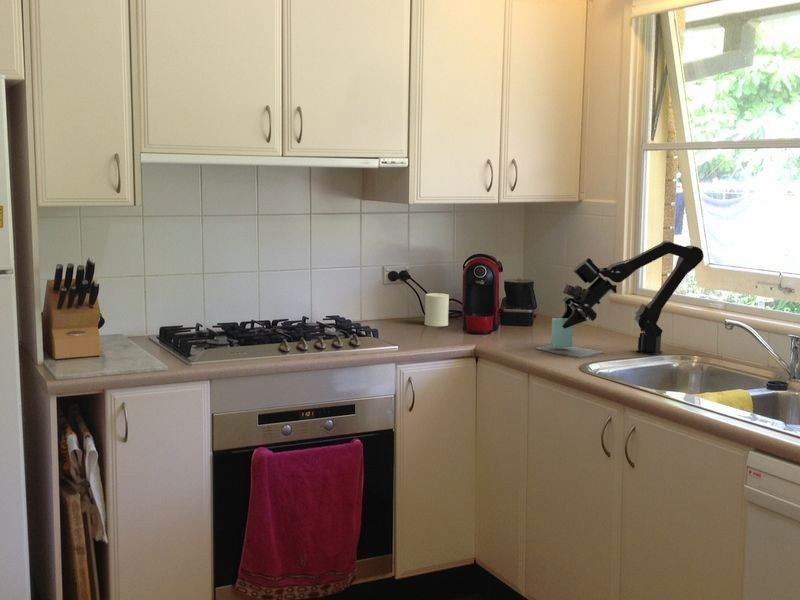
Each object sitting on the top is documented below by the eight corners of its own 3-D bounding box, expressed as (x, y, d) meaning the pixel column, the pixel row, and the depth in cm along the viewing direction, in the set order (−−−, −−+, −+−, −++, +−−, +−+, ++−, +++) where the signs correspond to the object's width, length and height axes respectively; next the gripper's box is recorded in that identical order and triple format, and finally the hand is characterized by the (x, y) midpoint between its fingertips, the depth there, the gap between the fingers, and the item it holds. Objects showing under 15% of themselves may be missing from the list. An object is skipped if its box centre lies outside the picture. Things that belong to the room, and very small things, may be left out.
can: (451, 323, 352) (452, 292, 350) (444, 327, 343) (445, 295, 341) (428, 321, 355) (429, 291, 353) (421, 325, 346) (422, 294, 344)
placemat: (603, 353, 299) (603, 351, 299) (580, 357, 290) (580, 356, 290) (558, 344, 312) (558, 343, 312) (535, 349, 303) (535, 348, 303)
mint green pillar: (572, 347, 300) (573, 320, 298) (554, 347, 299) (555, 320, 297) (568, 344, 304) (569, 318, 302) (550, 345, 303) (552, 318, 301)
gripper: (569, 273, 308) (536, 305, 308) (589, 279, 290) (554, 313, 289) (590, 296, 310) (558, 328, 310) (611, 303, 292) (576, 337, 292)
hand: (561, 326), depth 300 cm, fingers closed on mint green pillar, 4 cm apart
